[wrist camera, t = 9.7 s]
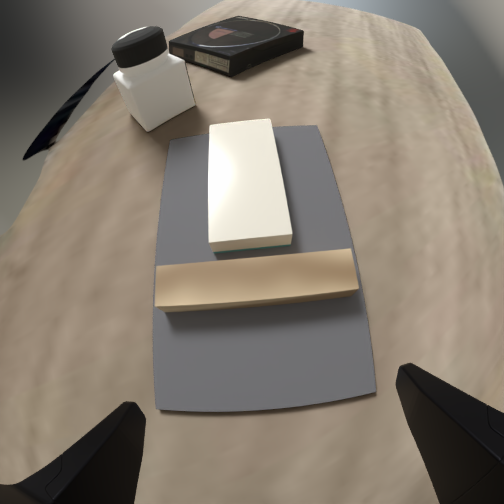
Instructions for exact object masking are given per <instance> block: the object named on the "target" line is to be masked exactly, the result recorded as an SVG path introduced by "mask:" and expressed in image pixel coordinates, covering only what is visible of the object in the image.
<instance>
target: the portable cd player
mask: <svg viewBox="0 0 504 504" xmlns="http://www.w3.org/2000/svg"><path fill="white" fill-rule="evenodd" d="M303 35H304V31H303V30H299V29H296V28H292V27H289V26H285V25H281V24H277V23H272V22H268V21H263V20H258V19H253V18H248V17H242V16H236V17H232V18H229V19H226V20H223V21H220V22H217V23H214V24H211V25H208V26H205V27H202V28H200V29H197V30H194V31H192V32H189V33H187V34H184V35H182V36H180V37H177V38H175V39H173V40H170V41H169V54H171V55H174V56H176V57H178V58H180V59H183V60H184V61H187V62H191V63H194V64H197V65H200V66H203V67H206V68H209V69H211V70H214V71H217V72H220V73H222V74H225V75H228V76H230V77H232V76H234V75H237V74H239V73H241V72H243V71H245V70H247V69H249V68H252V67H254V66H256V65H258V64H261V63H263V62H265V61H268V60H270V59H272V58H275V57H277V56H280V55H283V54H285V53H288V52H290V51H293V50H296V49H299V48H302V47H303Z"/></svg>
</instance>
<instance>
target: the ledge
mask: <svg viewBox="0 0 504 504" xmlns="http://www.w3.org/2000/svg"><path fill="white" fill-rule="evenodd" d="M358 289H359V285H358V280H357V275H356V270H355V265H354V261H353V256H352V252H351V248H350V249H339V250H329V251H318V252H308V253H297V254H286V255H275V256H265V257H254V258H242V259H231V260H220V261H209V262H197V263H186V264H174V265H163V266H156V284H155V307H157V308H158V309H160V310H162V311H163V312H185V311H205V310H221V309H235V308H248V307H260V306H271V305H281V304H291V303H300V302H309V301H318V300H326V299H334V298H341V297H349V296H352V295H353V294H354V293H355V292H356V291H357V290H358Z"/></svg>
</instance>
